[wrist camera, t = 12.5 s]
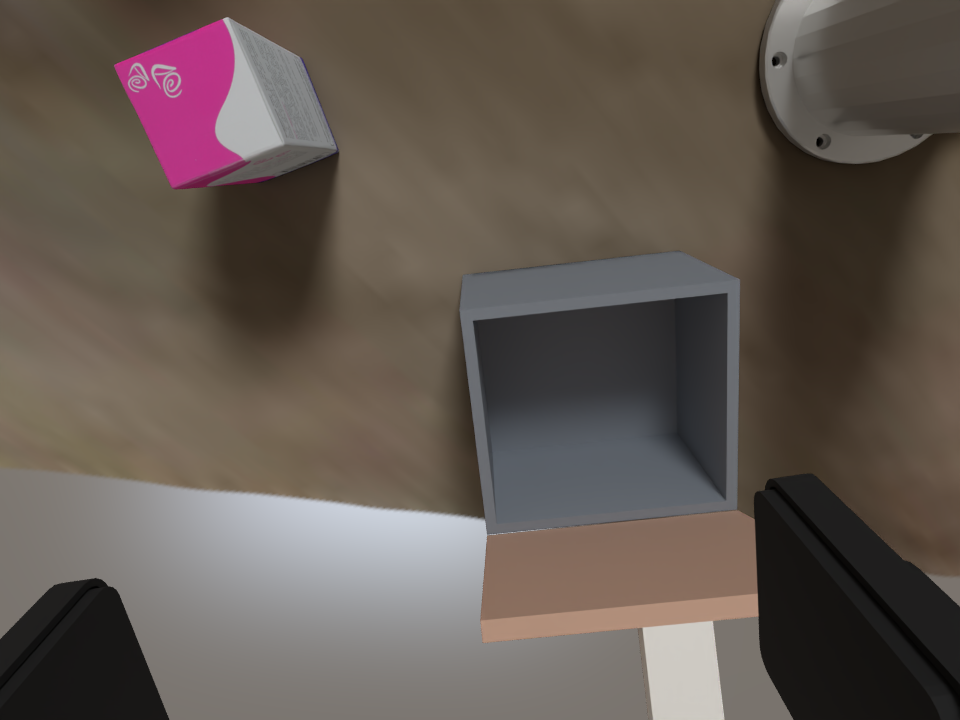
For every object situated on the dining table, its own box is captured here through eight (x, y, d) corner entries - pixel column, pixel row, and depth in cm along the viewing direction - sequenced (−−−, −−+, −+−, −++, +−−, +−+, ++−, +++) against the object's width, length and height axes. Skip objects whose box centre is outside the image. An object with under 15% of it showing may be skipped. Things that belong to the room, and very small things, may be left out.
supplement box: (301, 52, 38) (230, 12, 27) (341, 152, 40) (290, 153, 29) (211, 88, 38) (107, 63, 28) (255, 185, 40) (173, 198, 29)
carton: (679, 250, 42) (739, 279, 32) (682, 435, 46) (737, 509, 36) (462, 274, 42) (459, 310, 32) (484, 455, 46) (487, 534, 36)
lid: (872, 582, 23) (897, 777, 23) (737, 510, 36) (752, 634, 36) (480, 620, 23) (500, 812, 23) (487, 535, 36) (500, 658, 36)
